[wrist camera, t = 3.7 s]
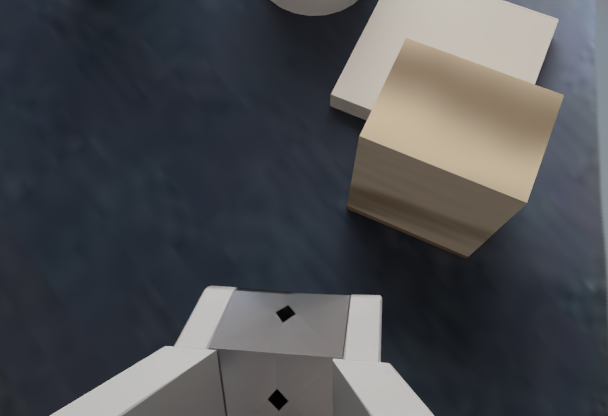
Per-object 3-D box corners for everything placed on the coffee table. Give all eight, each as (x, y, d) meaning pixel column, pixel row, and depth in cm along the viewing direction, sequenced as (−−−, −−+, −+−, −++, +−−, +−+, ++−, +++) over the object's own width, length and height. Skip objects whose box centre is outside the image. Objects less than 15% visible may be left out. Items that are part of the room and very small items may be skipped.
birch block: (465, 259, 33) (527, 203, 23) (346, 208, 34) (359, 136, 25) (496, 177, 35) (564, 95, 25) (381, 132, 36) (406, 37, 26)
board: (498, 172, 35) (506, 162, 33) (330, 106, 37) (330, 94, 35) (550, 33, 38) (558, 19, 37) (394, -21, 40) (397, -36, 39)
